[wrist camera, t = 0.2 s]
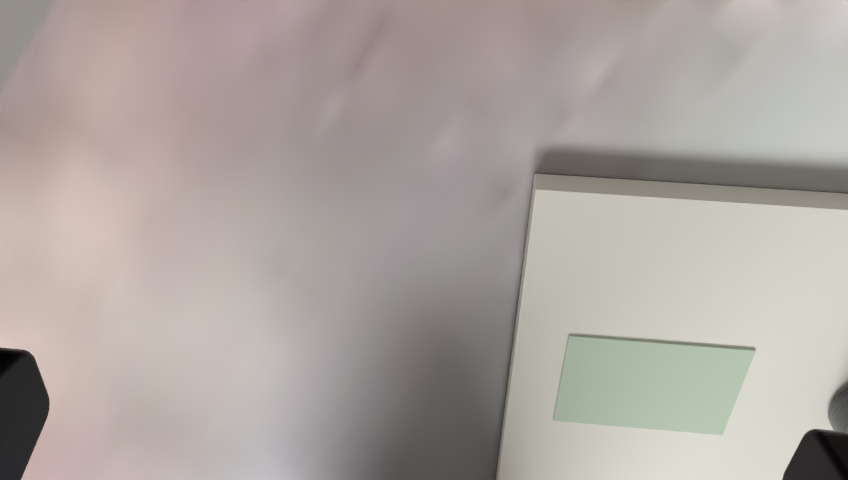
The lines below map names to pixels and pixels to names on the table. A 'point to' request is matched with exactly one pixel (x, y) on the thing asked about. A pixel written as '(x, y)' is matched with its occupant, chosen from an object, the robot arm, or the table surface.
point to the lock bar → (839, 412)
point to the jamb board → (674, 330)
